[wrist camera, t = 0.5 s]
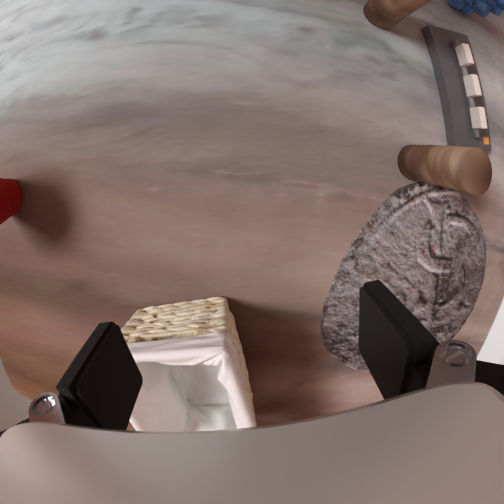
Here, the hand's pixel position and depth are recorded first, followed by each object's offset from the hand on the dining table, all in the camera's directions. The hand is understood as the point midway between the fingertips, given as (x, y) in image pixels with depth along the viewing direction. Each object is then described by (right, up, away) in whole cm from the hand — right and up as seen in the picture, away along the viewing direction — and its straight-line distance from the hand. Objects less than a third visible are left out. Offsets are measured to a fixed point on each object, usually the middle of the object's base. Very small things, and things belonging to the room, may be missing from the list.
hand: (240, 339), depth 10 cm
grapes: (+37, +47, +15) cm, 62 cm away
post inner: (+19, +37, +17) cm, 45 cm away
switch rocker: (+33, +28, +18) cm, 47 cm away
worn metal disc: (+28, -3, +32) cm, 42 cm away
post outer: (+23, +16, +25) cm, 37 cm away
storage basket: (-8, -13, +34) cm, 37 cm away
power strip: (+33, +29, +21) cm, 48 cm away
